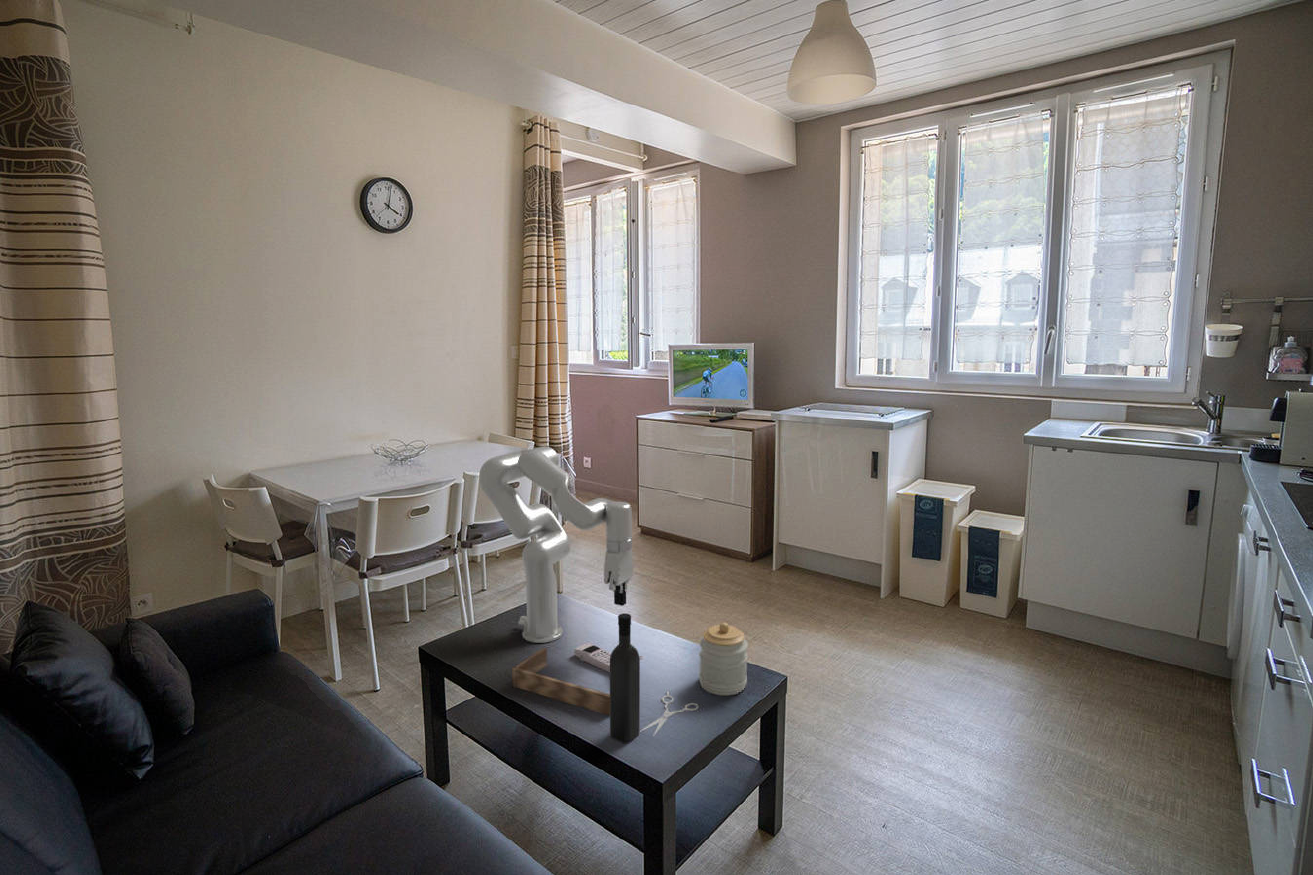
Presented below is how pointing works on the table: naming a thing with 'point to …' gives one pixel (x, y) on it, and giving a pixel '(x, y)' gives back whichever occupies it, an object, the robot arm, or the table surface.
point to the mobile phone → (594, 656)
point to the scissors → (668, 713)
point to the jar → (723, 660)
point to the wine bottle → (624, 685)
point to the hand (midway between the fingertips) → (620, 603)
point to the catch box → (557, 685)
